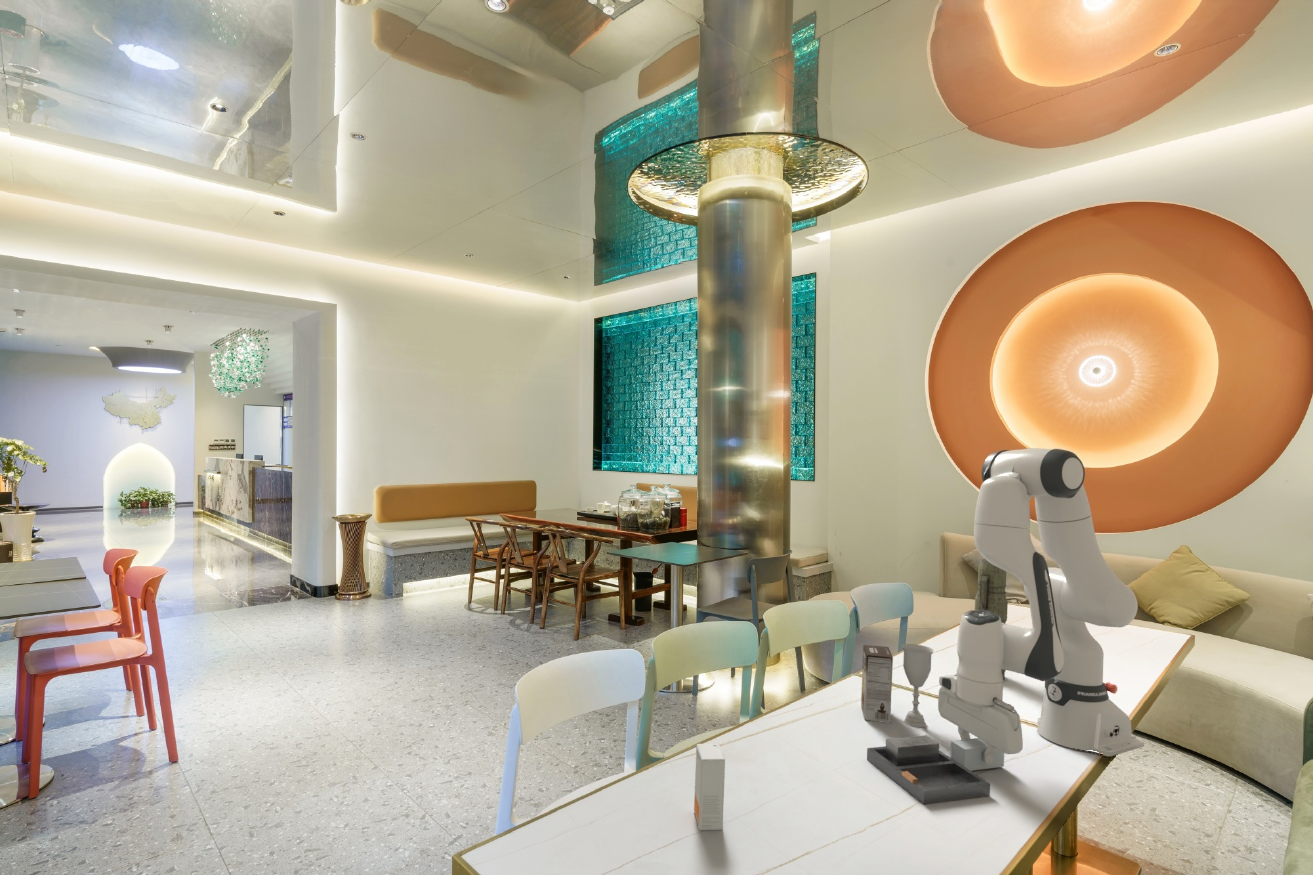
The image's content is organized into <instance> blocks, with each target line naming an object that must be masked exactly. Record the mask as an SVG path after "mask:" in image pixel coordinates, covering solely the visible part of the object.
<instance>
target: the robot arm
mask: <svg viewBox="0 0 1313 875" xmlns="http://www.w3.org/2000/svg"><path fill="white" fill-rule="evenodd" d="M1085 477H1086V472H1085V466H1084V464H1083V461H1082V460H1081V459H1080V458H1079V457H1078V455H1077V454H1076V453H1074V452H1073V451H1071V450H1067V449H1061V448H1052V449H1050V448H1040V447H1039V448H1036V447H1035V448H1034V447H1033V448H1032V447H1029V448H1025V449H1022V448H1021V449H1012V450H1007V449H1003V450H997V451H995V452H992V453H990V454H989V455H988V456H987V457H986V458H985V460H984V461H983V464H982V466H981V480H982V484H981V485H980V488H979V492H978V495H977V496H978V497H977V499H976V505H975V510H974V511H975V512H974V521H973V522H974V523H973V524H974V525H973V540H974V541H973V543H974V547H975V549H976V550H977V551H978V553H979V555H980V556H981V557H982V559H984V558H985V559H986V560H987V561H988V562H990V563H991V564H993V565H994V566H996V567H998V568H1000V569H1002V570H1004V571H1006V573H1008V574H1009V575H1012V576H1013V577H1015V578H1016V579H1017V580H1019V581H1020V582H1021V583H1022V585H1023V592H1024V595H1025V597H1026V599H1027V601H1028V602H1029V609H1030V618H1031V624H1032V627H1031V628H1027V627H1023V626H1022V627H1021V626H1019V625H1017V626H1016V625H1013V624H1007V623H1002V622H1001V618H1000V617H999V616H998V615H997V614H995V613H993V612H990V611H986V610H975V609H973V610H971V609H970V610H968V611H965V612H963V613H962V616H961V619H960V623H959V627H958V628H959V629H958V634H957V645H956V646H957V648H956V649H957V650H956V652H957V657H958V665H957V669H956V674H947V675H941V676H939V678H938V684H939V686H940V687H939V690H938V699H937V701H938V702H937V708H938V709H937V710H938V713H939V715H940V717H941V718H943V719H945V720H946V721H947V722H950V723H952V724H953V725H955V726H957V731H958V734H959V736H960V740H965V739H971V736H972V735H973V736H974V737H975V738H979V739H981V740H983V741H985V747H987V749H986V751H985V752H981V756H982V757H981V760H982V761H984V762H985V763H987V764H991V763H993V755H994V754H995V753H996V751H997V750H998V749H999V750H1000V751H1002V752H1004V754H1006V755H1015V754H1019V753H1021V751H1023V748H1024V745H1023V744H1024V743H1023V741H1024V739H1023V729H1022V723H1021V716H1020V714H1019V713H1018V711H1017V710H1016V709H1015V707H1014V706H1013V705H1012V704H1009V703H1007V702H1005V701H1004V700H1003V696H1004V692H1003V691H1004V681H1003V675H1002V672H1001V669H1004V670H1006V671H1008V672H1011V673H1012V672H1013V673H1017V674H1021V675H1024V676H1026V677H1029V678H1031V679H1035V680H1036V681H1037V680H1038V681H1041V682H1044V690H1045V691H1044V693H1043V699H1042V704H1041V712H1040V717H1039V718H1038V719H1037V724H1038V726H1037V732H1038V734H1039V735H1040V736H1042V738H1044V739H1046V740H1048V741H1050V742H1052V743H1054V744H1057V745H1060V746H1063V747H1066V748H1069V749H1073V748H1075V749H1074V750H1077V749H1082V750H1093V751H1097V752H1099V753H1103V755H1102V756H1105V757H1113V756H1117V755H1120V754H1123V753H1127V752H1130V751H1133V750H1137V749H1141V748H1143V747H1145V741H1144V740H1142V739H1141V738H1140V737H1138V736H1136V735H1135V734H1133V731H1132V722H1131V719H1130V717H1129V715H1128V714H1127V713H1126V712H1124V710H1122V709H1121V708H1120V707H1119V706H1118V705H1116V703H1115V702H1113V701H1112V700H1111V699H1110V697H1109V694H1108V692H1110V693H1111V694H1113V695H1114V694H1117V692H1118V688H1119V687H1118V686H1117V685H1116V684H1113V683H1110V682H1106V683H1105V682H1104V650H1103V647H1102V645H1101V644H1100V643H1099V641H1097V640H1096V639H1095V637H1093V635H1092V634H1091V633H1090V631H1089V629H1088V627H1087V625H1086V624H1091V625H1095V626H1098V627H1105V628H1106V627H1107V628H1124V627H1126V626H1128V625H1130V624H1131V623H1132V622H1133V620H1134V619H1135V617H1136V615H1137V613H1138V609H1139V608H1138V599H1137V597H1136V594H1135V592H1134V591H1133V590H1132V588H1130V587H1129V586H1128V585H1127V584H1125V583H1124V582H1123V581H1121V580H1120V578H1119V577H1117V575H1116V574H1115V573H1114V572H1113V570H1112V569H1111V567H1110V566H1109V564H1108V563H1107V561H1106V559H1105V558H1104V556H1103V554H1102V551H1101V550H1100V548H1099V544H1098V541H1097V537H1096V532H1095V526H1094V522H1093V517H1092V511H1091V506H1090V505H1091V504H1090V502H1089V499H1088V495H1087V492H1086V489H1085V487H1084V481H1085ZM1032 498H1034V506H1035V507H1034V508H1035V516H1036V522H1037V528H1038V532H1039V539H1040V545H1041V549H1042V550H1043V552H1044V553H1045V554H1046V556H1048V557H1049V558H1050V559H1051V560H1052V561H1054V562H1055V564H1056V565H1057V566H1058V567H1049V566H1048V563H1047V561H1046V559H1045V557H1044V555H1042V554H1041V553H1039V552H1038V551H1037V550H1036V549H1035V547H1034V544H1033V542H1032V539H1031V530H1030V529H1031V510H1030V507H1031V506H1030V501H1031V499H1032ZM970 734H971V736H970ZM1122 745H1123V746H1122ZM1082 750H1081V751H1082Z"/></svg>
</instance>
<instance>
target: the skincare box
mask: <svg viewBox="0 0 1313 875" xmlns="http://www.w3.org/2000/svg"><path fill="white" fill-rule="evenodd" d="M725 768H726V759H725V756H724V752H723V750H722V748H721V746H720V744H719V743H697V744H696V751H695V774H694V775H695V778H694V800H693V801H694V802H693V803H694V804H693V805H694V806H693V811H694V815H695V818H696V819H695V820H696V822H697V823H696V824H697V826H698V830H699V831H722V830H723V828H724V827H723V826H724V801H725V800H724V798H725V778H726V777H725V774H726V773H725V771H726V770H725Z"/></svg>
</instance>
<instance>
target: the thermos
mask: <svg viewBox="0 0 1313 875" xmlns="http://www.w3.org/2000/svg"><path fill="white" fill-rule="evenodd" d="M977 569H978V570H977V572H978V574H977V584H978V586H977V587H978V588H977V592H976V594H975V597H974V610H986V611H990V612H993V613H995V614H997V615H998V616H999V617H1000V618H1001V622H1002V623H1005V624H1007V623H1006V622H1007V621H1008V604H1009V603H1008V599H1007V596H1006V593H1007V592H1006V587H1007V572H1006V571H1004V570H1002V569H1000V568H998V567H996V566H994V565H993V564H991V563H990V562H988V561H987V560H986V559H985V558H982V559H981V560H980V563H979V565H978V568H977ZM1006 671H1007V670H1004V669H1001V672H1002V675H1003V682H1004V681H1005V678H1006V676H1005V675H1006Z"/></svg>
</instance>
